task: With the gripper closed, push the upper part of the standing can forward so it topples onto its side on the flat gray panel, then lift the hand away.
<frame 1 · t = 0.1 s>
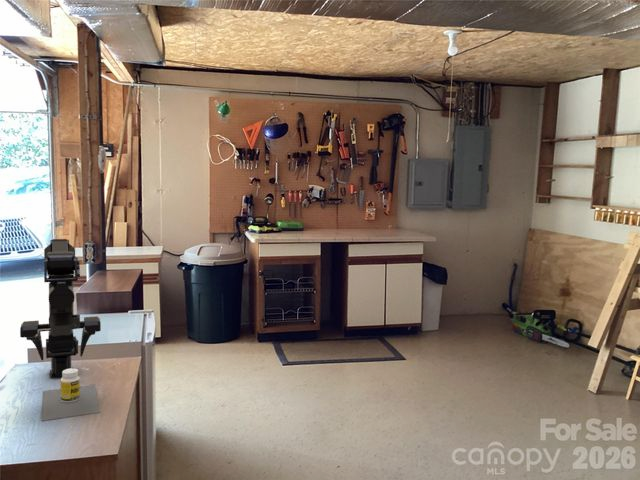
hand: (62, 358, 139), 15 cm above the cabinet top, fingers open, 9 cm apart
supplement bottle: (70, 400, 147), resting on flat gray panel
flat gray panel: (70, 401, 146), on the cabinet top
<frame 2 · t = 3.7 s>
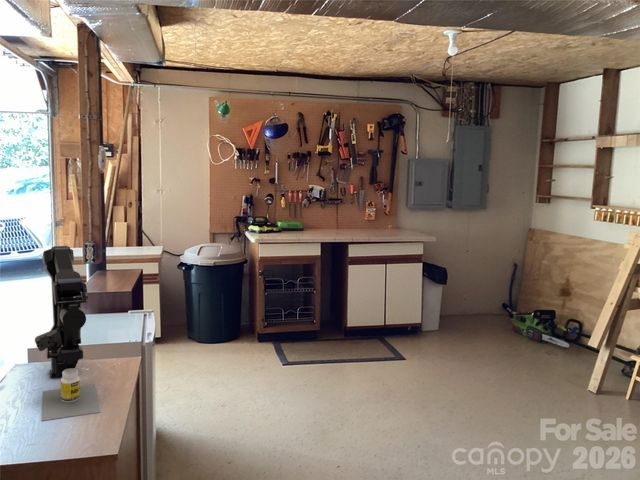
hand: (70, 374, 148), 7 cm above the cabinet top, fingers closed
supplement bottle: (70, 399, 147), resting on flat gray panel, touching gripper
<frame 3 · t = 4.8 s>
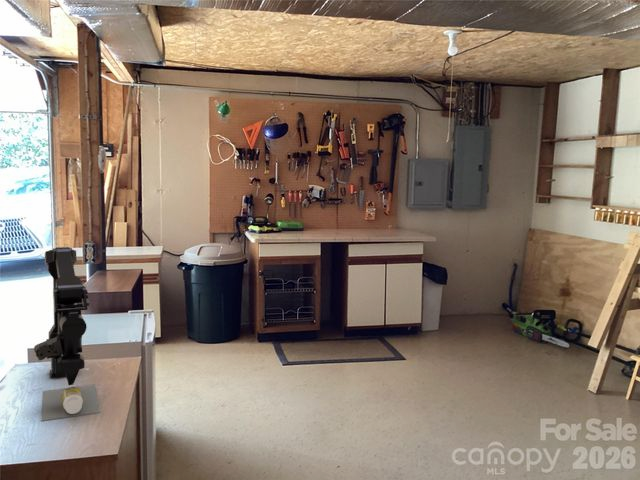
hand: (70, 384, 142), 6 cm above the cabinet top, fingers closed
supplement bottle: (71, 394, 145), point 3 cm above the cabinet top, touching flat gray panel
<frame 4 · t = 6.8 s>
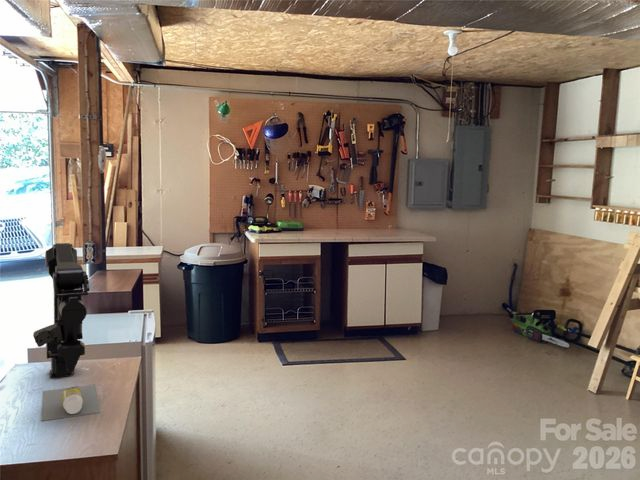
hand: (70, 372, 139), 11 cm above the cabinet top, fingers closed
nothing on the cabinet top moved.
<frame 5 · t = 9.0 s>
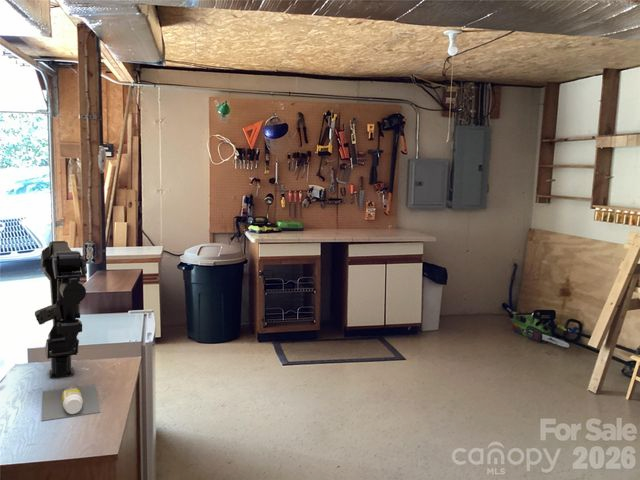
hand: (69, 348, 150), 13 cm above the cabinet top, fingers closed
nothing on the cabinet top moved.
at the end: supplement bottle tilted 90°; supplement bottle inside the target area (3.8 cm from its centre), point 2.6 cm above the cabinet top; supplement bottle touching flat gray panel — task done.
